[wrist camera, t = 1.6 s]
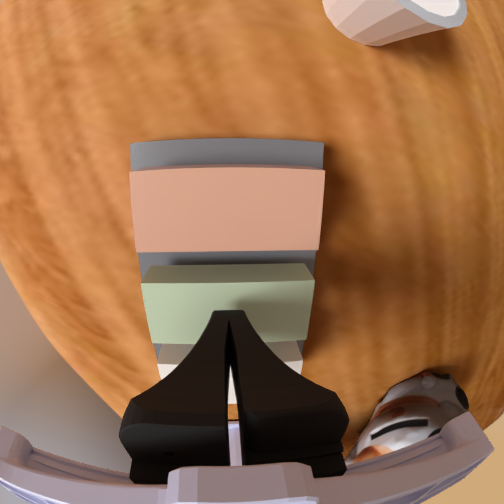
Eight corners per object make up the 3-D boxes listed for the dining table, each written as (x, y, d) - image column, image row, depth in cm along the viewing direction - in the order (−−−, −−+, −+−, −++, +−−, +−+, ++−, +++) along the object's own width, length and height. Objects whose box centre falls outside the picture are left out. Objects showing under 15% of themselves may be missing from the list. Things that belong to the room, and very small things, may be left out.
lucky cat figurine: (361, 449, 30) (348, 528, 17) (337, 387, 30) (316, 473, 17) (463, 415, 24) (485, 490, 11) (455, 344, 25) (496, 418, 12)
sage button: (297, 318, 16) (306, 339, 14) (159, 321, 15) (152, 343, 14) (304, 263, 15) (315, 280, 13) (150, 265, 14) (140, 283, 12)
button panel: (292, 359, 21) (298, 376, 20) (166, 362, 21) (162, 379, 19) (312, 142, 16) (323, 142, 14) (140, 143, 15) (130, 143, 13)
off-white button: (289, 377, 18) (295, 399, 16) (171, 380, 17) (167, 402, 15) (295, 338, 17) (303, 360, 15) (162, 341, 16) (157, 363, 14)
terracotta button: (306, 235, 14) (318, 249, 12) (147, 237, 14) (136, 252, 12) (311, 166, 13) (325, 170, 11) (142, 167, 12) (129, 171, 10)
